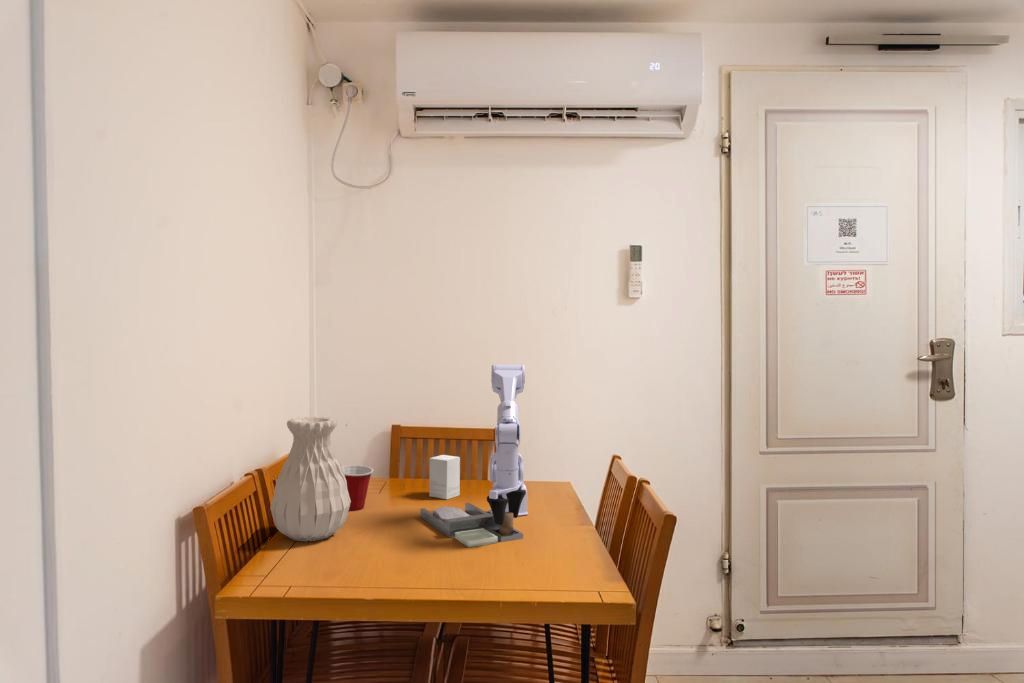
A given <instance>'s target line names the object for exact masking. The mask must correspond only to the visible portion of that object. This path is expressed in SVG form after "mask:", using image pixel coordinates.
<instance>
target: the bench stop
mask: <svg viewBox="0 0 1024 683" xmlns="http://www.w3.org/2000/svg"><path fill="white" fill-rule="evenodd" d="M464 512H466V513H467V514H469V515H470V516H466V517H459V518H452V519H445V522H444V521H443V520H441V519H440V518H438V517H437V516H435V515H434V514H432V513H433V512H431V511H429V510H428V509H426V508H425V507H423V508H419V517H420V518H421V519H422V520H424V521H425V522H426V523H428V524H429V525H430V526H432V527H434V528H435V529H436V530H438V531H439V532H441V533H442V534H444V535H445V536H447V537H448V538H449V539H451V538H455V532H461V531H468V530H474V529H481V528H484V529H485V530H487V531H489V530H493V529H499V525H498V524H495V522H494V517H493V513H490V512H487V511H485V510H483V509H481V508H479V507H478V506H476V505H474V504H472V503H471V502H465V503H464ZM471 515H472V516H471Z"/></svg>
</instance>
